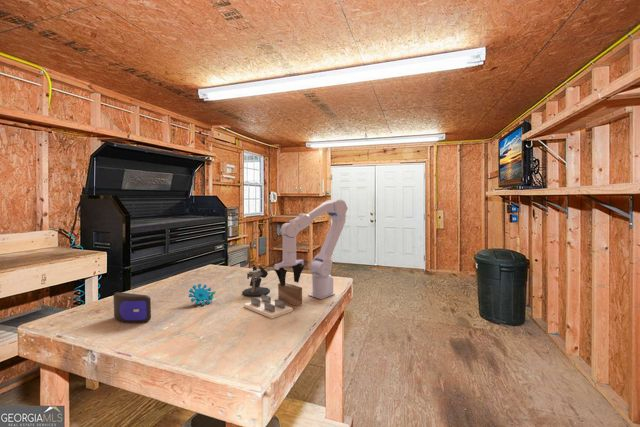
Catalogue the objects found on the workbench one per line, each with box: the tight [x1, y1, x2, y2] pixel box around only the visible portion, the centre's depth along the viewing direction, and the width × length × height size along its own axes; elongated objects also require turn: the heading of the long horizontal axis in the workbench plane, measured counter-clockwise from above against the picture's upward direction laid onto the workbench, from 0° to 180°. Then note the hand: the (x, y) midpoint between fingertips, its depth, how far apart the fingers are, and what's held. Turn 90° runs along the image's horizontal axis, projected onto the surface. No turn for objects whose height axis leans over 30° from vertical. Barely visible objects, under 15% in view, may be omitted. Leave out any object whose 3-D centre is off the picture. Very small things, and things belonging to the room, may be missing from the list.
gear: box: [188, 283, 217, 306], centre depth 123 cm, size 11×6×10 cm
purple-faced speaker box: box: [113, 291, 152, 324], centre depth 104 cm, size 16×5×9 cm, turn 73°
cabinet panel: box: [243, 298, 294, 319], centre depth 114 cm, size 10×18×1 cm, turn 47°
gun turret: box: [241, 265, 275, 298], centre depth 138 cm, size 13×20×13 cm, turn 154°
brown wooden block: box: [277, 282, 303, 307], centre depth 123 cm, size 4×12×7 cm, turn 47°
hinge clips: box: [250, 294, 286, 312], centre depth 114 cm, size 6×14×2 cm, turn 47°
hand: (289, 283), depth 122 cm, fingers open, 7 cm apart
